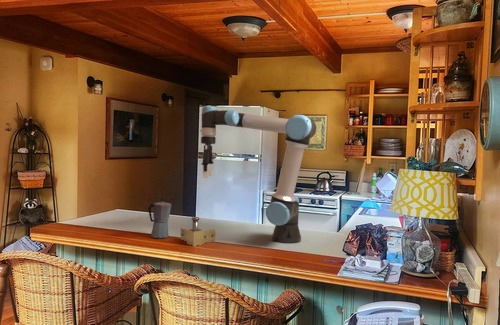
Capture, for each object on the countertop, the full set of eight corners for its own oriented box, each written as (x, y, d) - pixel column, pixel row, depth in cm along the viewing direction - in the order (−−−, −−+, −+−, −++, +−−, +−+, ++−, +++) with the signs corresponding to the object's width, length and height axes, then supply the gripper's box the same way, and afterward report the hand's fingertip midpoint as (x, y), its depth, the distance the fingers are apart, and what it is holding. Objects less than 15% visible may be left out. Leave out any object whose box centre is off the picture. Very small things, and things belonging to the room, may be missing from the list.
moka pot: (176, 235, 212) (177, 198, 211) (155, 241, 199) (156, 201, 198) (163, 233, 217) (163, 196, 216) (141, 238, 204) (142, 199, 203)
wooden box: (217, 242, 201) (218, 228, 201) (193, 246, 191) (193, 231, 191) (200, 236, 212) (200, 223, 212) (176, 240, 202) (176, 226, 202)
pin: (200, 244, 195) (200, 217, 195) (193, 245, 193) (194, 218, 192) (195, 243, 198) (196, 216, 197) (189, 244, 195) (190, 217, 195)
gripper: (204, 136, 223) (203, 174, 223) (197, 135, 198) (196, 178, 198) (218, 137, 222) (217, 175, 223) (212, 135, 197) (211, 178, 198)
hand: (207, 176), depth 211 cm, fingers open, 13 cm apart
